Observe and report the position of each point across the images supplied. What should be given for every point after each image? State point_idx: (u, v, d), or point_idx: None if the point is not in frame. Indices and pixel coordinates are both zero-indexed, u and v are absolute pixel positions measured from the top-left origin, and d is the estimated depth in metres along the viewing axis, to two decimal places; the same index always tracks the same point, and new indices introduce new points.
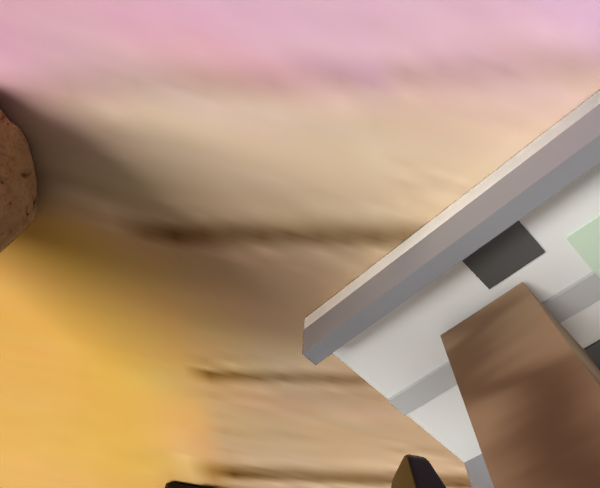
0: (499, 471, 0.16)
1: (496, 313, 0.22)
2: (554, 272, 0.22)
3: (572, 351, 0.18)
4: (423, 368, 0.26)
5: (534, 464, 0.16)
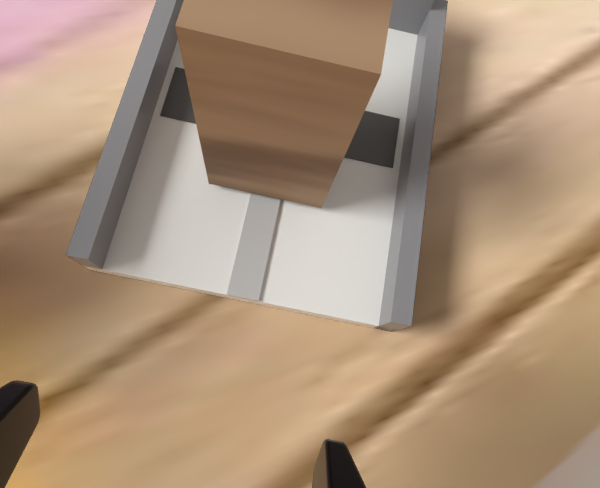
0: None
1: None
2: None
3: None
4: (231, 234, 0.23)
5: None
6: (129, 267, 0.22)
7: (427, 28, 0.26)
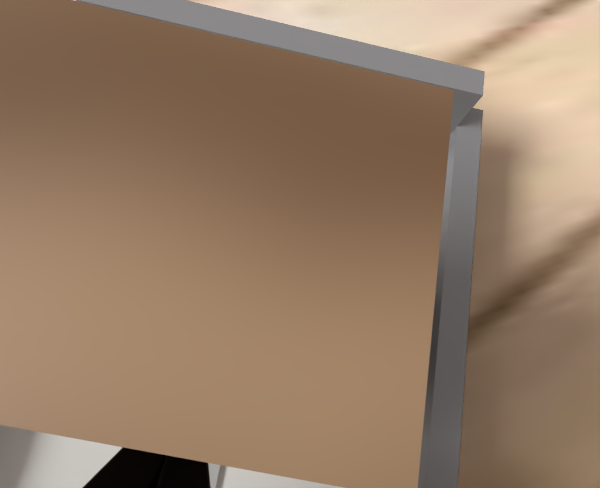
0: None
1: None
2: None
3: None
4: None
5: None
6: None
7: (453, 156, 0.17)
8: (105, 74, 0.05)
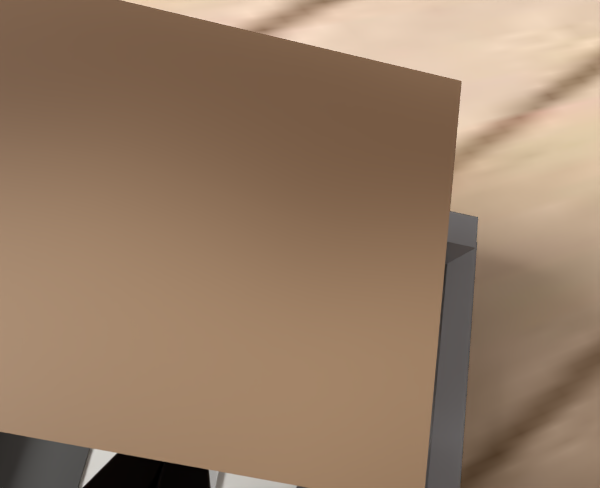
0: None
1: None
2: None
3: None
4: None
5: None
6: None
7: (443, 299, 0.15)
8: (99, 64, 0.05)
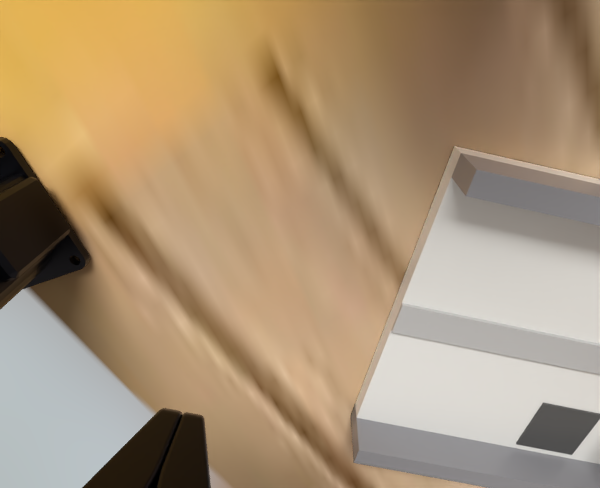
0: None
1: None
2: None
3: None
4: (470, 307, 0.20)
5: None
6: (448, 207, 0.18)
7: None
8: None
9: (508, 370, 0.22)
